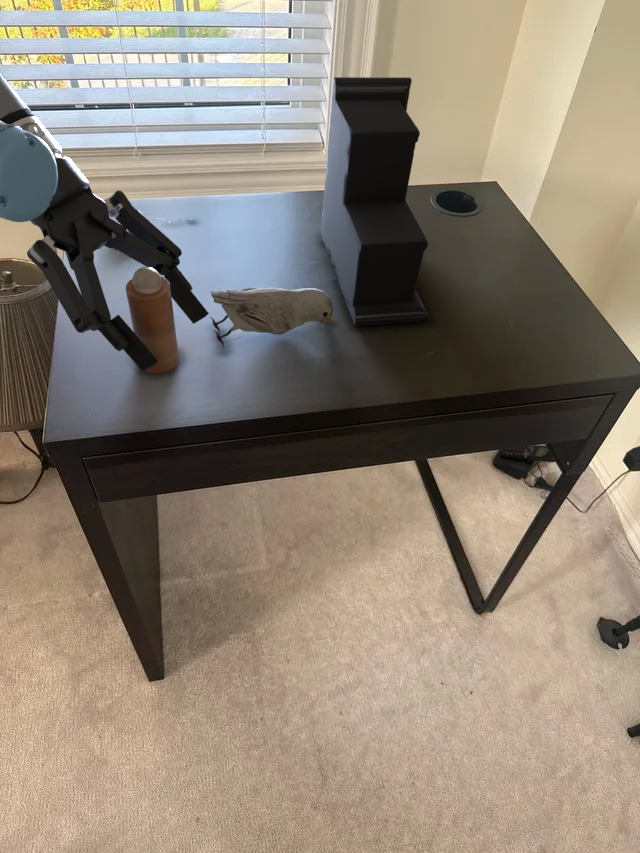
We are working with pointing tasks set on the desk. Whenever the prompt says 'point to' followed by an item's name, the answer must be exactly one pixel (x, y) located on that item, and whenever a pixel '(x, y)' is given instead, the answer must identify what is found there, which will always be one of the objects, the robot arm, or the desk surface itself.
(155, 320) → the pepper mill
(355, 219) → the bookend
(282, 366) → the desk surface
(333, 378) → the desk surface
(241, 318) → the decorative bird
